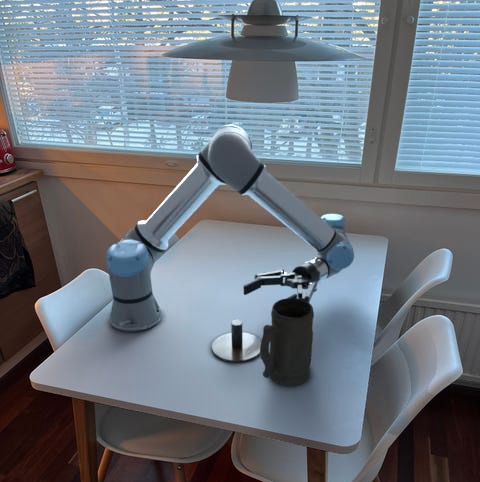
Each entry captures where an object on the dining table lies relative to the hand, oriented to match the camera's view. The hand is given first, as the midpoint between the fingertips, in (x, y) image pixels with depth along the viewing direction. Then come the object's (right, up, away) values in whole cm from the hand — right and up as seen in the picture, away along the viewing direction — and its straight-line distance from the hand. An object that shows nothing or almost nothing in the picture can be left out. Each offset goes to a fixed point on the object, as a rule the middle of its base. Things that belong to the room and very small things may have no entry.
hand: (261, 298), depth 131 cm
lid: (-7, -14, 0) cm, 15 cm away
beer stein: (+5, -21, -11) cm, 24 cm away
